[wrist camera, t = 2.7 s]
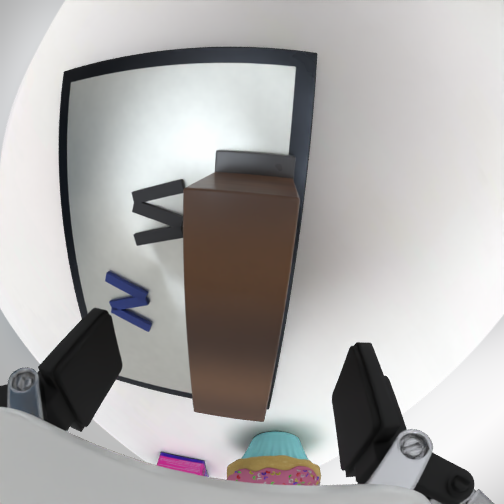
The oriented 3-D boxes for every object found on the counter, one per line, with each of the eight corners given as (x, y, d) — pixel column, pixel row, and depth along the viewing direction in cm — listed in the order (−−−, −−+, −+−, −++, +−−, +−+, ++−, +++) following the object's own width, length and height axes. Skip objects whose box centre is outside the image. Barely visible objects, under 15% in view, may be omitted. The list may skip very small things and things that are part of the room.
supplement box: (211, 476, 29) (195, 546, 18) (168, 468, 29) (148, 533, 19) (206, 460, 27) (187, 540, 16) (159, 450, 27) (133, 525, 16)
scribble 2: (133, 177, 14) (130, 178, 14) (186, 179, 14) (184, 180, 14) (136, 243, 16) (133, 245, 15) (185, 249, 15) (183, 251, 15)
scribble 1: (105, 270, 17) (103, 272, 16) (146, 276, 16) (144, 279, 16) (115, 321, 18) (113, 324, 18) (153, 330, 18) (151, 333, 18)
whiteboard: (71, 72, 13) (61, 71, 12) (315, 57, 12) (317, 51, 11) (103, 368, 22) (98, 375, 21) (269, 402, 21) (268, 411, 20)
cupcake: (295, 411, 21) (293, 541, 10) (332, 447, 23) (337, 547, 12) (215, 432, 24) (191, 538, 12) (261, 464, 26) (251, 553, 15)
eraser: (220, 149, 13) (183, 155, 8) (294, 155, 13) (304, 164, 8) (214, 357, 18) (194, 422, 13) (267, 364, 18) (261, 431, 13)
